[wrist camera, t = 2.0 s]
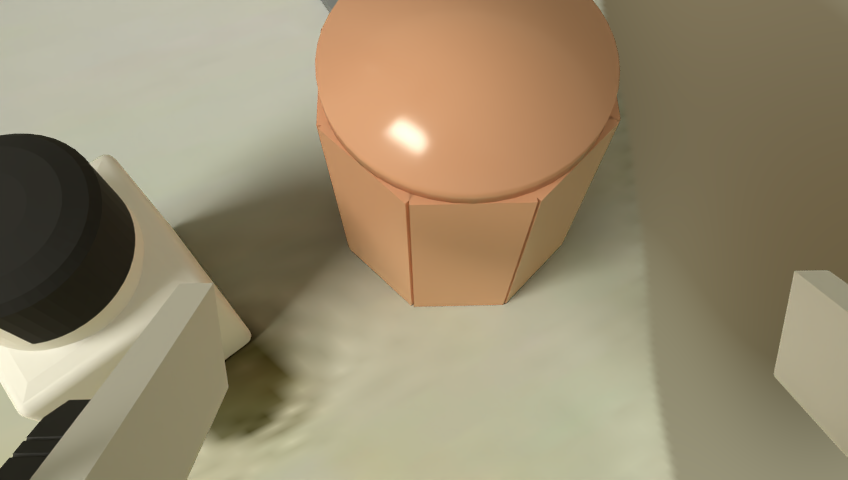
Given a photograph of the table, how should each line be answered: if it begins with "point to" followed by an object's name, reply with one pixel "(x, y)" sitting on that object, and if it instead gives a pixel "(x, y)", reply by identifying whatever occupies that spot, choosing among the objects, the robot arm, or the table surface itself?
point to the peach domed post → (463, 136)
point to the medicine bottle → (81, 272)
